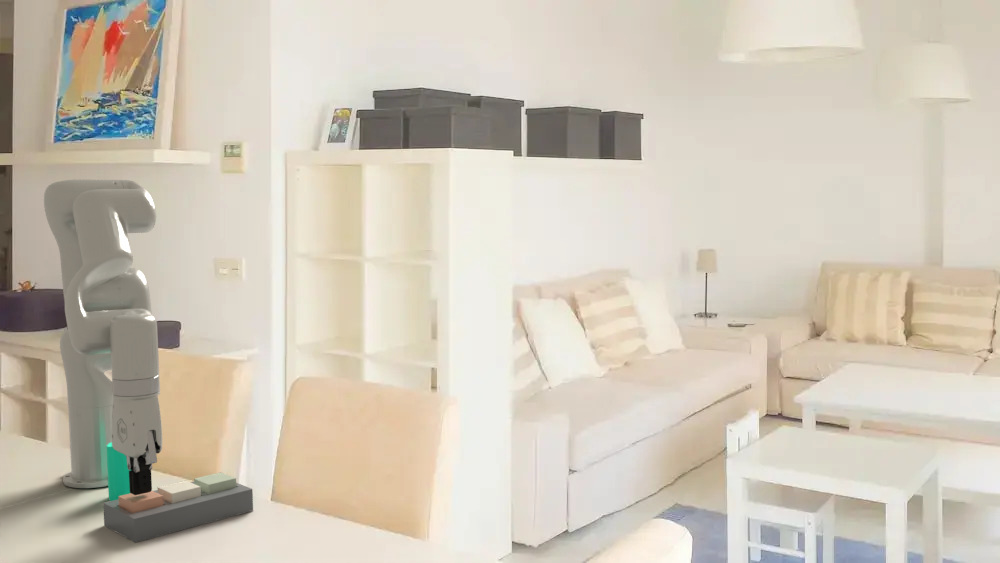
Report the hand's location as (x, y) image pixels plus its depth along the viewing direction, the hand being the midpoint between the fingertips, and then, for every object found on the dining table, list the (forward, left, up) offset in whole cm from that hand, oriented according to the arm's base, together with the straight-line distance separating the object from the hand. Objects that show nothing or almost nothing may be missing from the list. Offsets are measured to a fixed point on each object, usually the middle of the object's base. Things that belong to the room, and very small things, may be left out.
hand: (140, 492), depth 165 cm
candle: (-19, +6, -7) cm, 21 cm away
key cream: (0, +7, -4) cm, 8 cm away
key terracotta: (0, 0, -4) cm, 4 cm away
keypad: (0, +7, -6) cm, 9 cm away
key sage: (0, +14, -4) cm, 15 cm away
